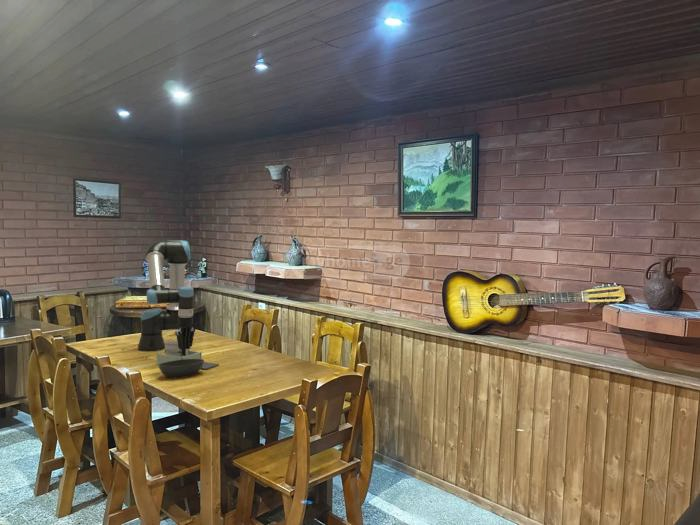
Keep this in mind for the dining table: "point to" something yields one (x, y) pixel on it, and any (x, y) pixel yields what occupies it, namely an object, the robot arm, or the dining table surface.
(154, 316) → the robot arm
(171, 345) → the ink box
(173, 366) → the bowl
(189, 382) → the dining table surface
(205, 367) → the stand mat
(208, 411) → the dining table surface
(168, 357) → the grey open box
